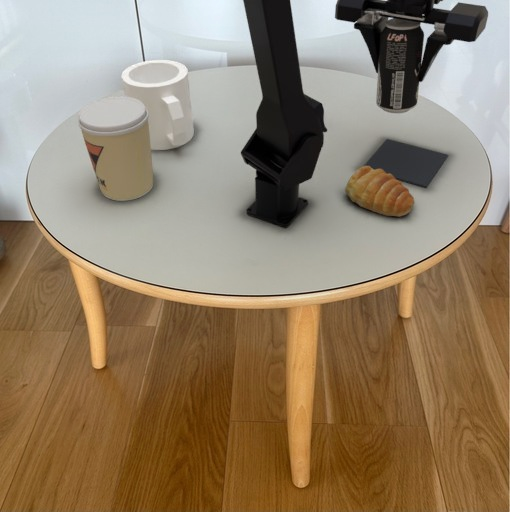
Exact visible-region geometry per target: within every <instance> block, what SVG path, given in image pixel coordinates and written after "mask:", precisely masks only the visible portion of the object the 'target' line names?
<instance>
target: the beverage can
mask: <svg viewBox="0 0 510 512" xmlns="http://www.w3.org/2000/svg"><path fill="white" fill-rule="evenodd" d="M421 24H422V23H420V22H414V21H408V20H402V19H395V18H388V20H387V21H386V24H385V25H386V26H385V28H384V29H383V31H382V32H381V35H380V46H379V64H378V73H377V80H376V81H377V83H376V100H375V101H376V102H375V104H376V106H377V107H378V108H379V109H381V110H382V111H383V112H386V113H389V114H404V113H407V112H409V111H410V110H413V109H414V108H415V107H416V106H417V105H418V97H419V89H420V82H419V72H420V68H421V64H422V59H423V51H424V50H423V49H424V40H425V32H424V30H423V29H422V27H421Z"/></svg>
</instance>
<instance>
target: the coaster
mask: <svg viewBox="0 0 510 512" xmlns="http://www.w3.org/2000/svg"><path fill="white" fill-rule="evenodd" d="M448 157H449V154H447V153H443V152H440V151H436V150H432V149H428V148H424V147H421V146H417V145H413V144H410V143H406V142H401V141H397V140H395V139H394V140H393V139H390V138H386V139H385V140H384V142H383V143H382V144H381V145H380V146H379V147H378V148H377V150H376V151H375V152H374V153H373V154H372V155H371V156H370V158H369V159H368V160H367V161H366V162H365V164H364V165H363V166H370V167H371V168H372V169H374V170H376V169H383V170H384V171H385V172H386V174H392V175H393V176H394V177H395V178H396V180H398V181H401V182H403V183H408V184H411V185H415V186H418V187H421V188H425V189H427V188H428V187H429V185H430V183H431V182H432V180H433V179H434V178H435V176H436V174H437V173H438V172H439V170H440V168H442V166H443V164H444V163H445V161H446V160H447V158H448Z"/></svg>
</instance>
